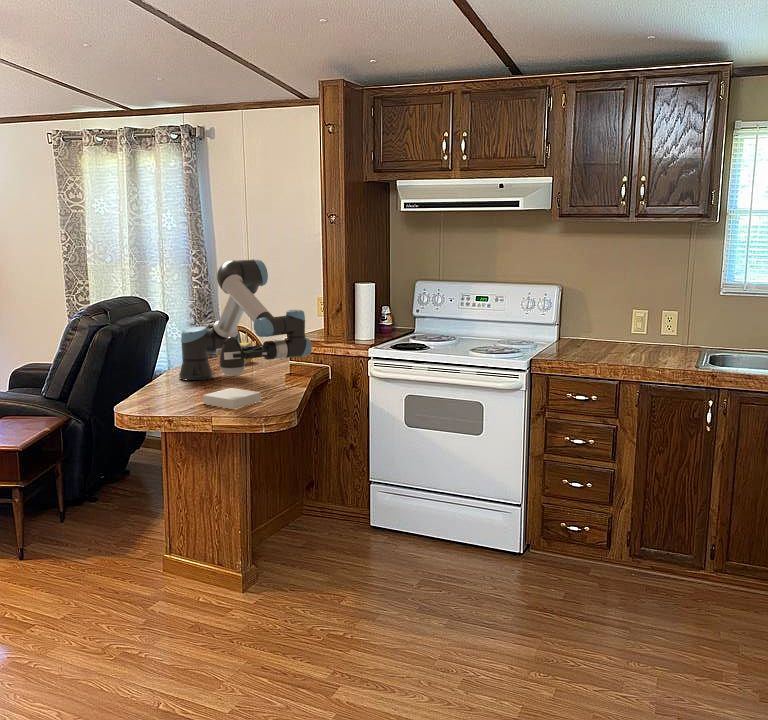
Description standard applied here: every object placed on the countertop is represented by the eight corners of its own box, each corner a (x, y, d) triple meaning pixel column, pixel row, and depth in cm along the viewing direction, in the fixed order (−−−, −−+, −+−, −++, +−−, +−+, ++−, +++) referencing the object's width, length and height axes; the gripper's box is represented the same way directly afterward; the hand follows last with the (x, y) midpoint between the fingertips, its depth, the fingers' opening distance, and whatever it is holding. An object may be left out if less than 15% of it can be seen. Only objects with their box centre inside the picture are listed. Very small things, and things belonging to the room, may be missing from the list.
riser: (203, 404, 318) (203, 395, 317) (231, 397, 331) (230, 387, 331) (233, 410, 310) (233, 399, 309) (260, 401, 323) (260, 392, 322)
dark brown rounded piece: (217, 373, 322) (215, 335, 319) (242, 371, 325) (241, 334, 323) (221, 377, 312) (219, 339, 310) (247, 375, 316) (246, 337, 313)
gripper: (284, 363, 317) (229, 368, 306) (265, 354, 336) (212, 359, 325) (283, 344, 316) (228, 348, 305) (264, 337, 335) (212, 341, 324)
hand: (220, 354), depth 315 cm, fingers closed on dark brown rounded piece, 9 cm apart
